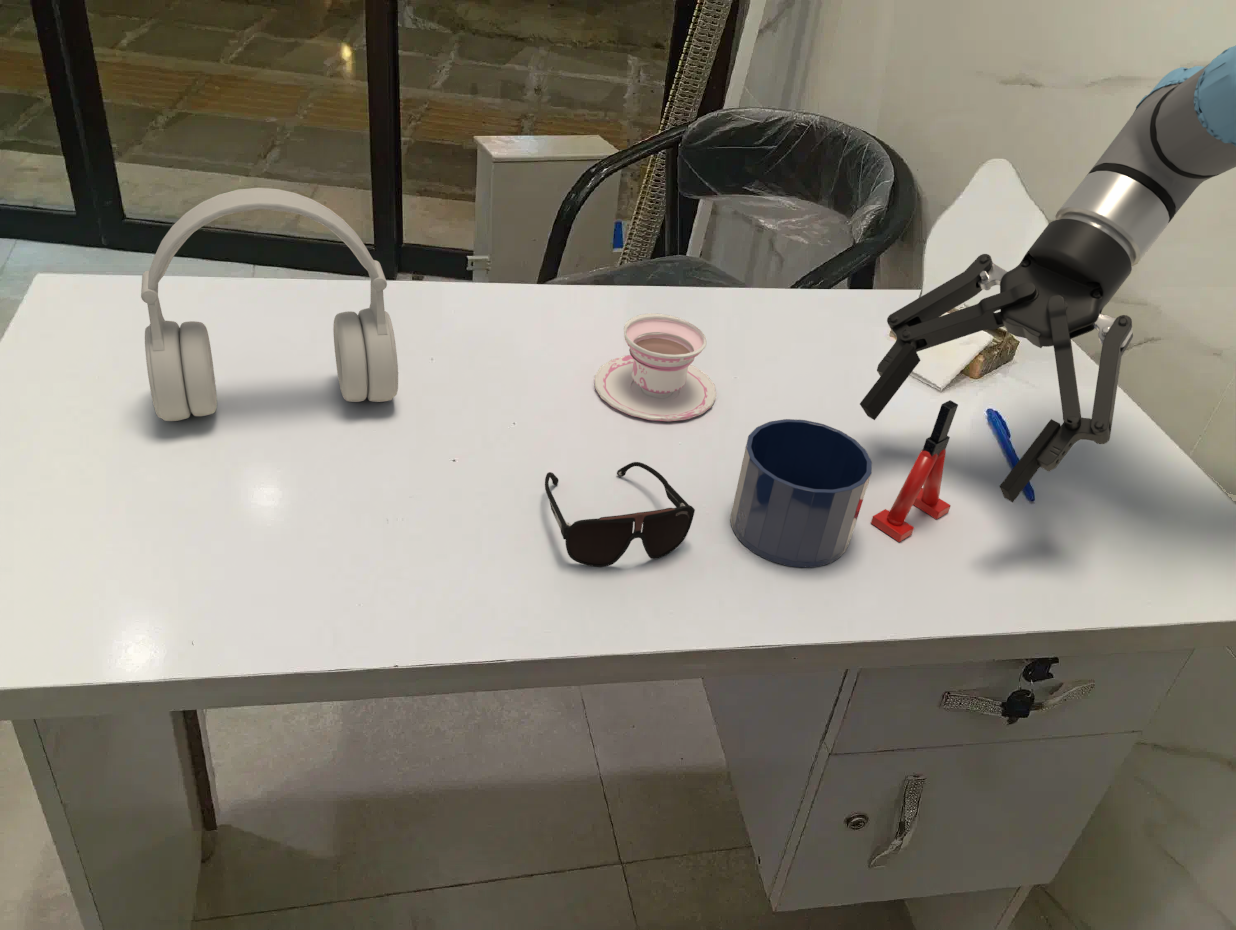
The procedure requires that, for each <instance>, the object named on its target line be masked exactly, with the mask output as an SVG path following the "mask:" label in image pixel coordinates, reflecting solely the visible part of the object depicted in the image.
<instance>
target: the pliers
mask: <svg viewBox="0 0 1236 930" xmlns="http://www.w3.org/2000/svg"><path fill="white" fill-rule="evenodd" d="M958 408H959V404H958V403H956V402H954V401H952V400H948V401H945V402H944V403H941V405H940V408H939V410H938V414H937V417H936V420H935V423H934V425H933V428H932V431H931V434H930V436H929V437H927V438H926V439H925V442H924V444H923V446H922V449H921V451H920V452H919V453H918V456H917V458H916V459H915V462H914V463H913V465H912V467H911V470H910V471H909V473H908V475H907V477H906V479H905V481H904V483H903V485H902V487H901V489H900V490H899V493H898V495H897V496H896V498H895V500H894V502H893V503H892V505H891V508H890V510H888V509H886V508H885V509H883V510H880V511H879V512H878V513H876V514H874V515H872V518H871V521H870V524H871V525H873V526H874V527H876V528H877V529H879V530H880V531H882V532H883V533H885V534H886V535H888V536H889V537H891V538H892V539H894V540H895V541H896V542H898V543H901V542H902V541H903V540H906V539H907V538H909V537H910V536H912V534H913V532H914V529H915V527H914V526H913V525H912V524H909V523H908V522H906V521H905V520H906V519H907V517H908V515H909V513H910V511H911V509H912V507H913V506H914V507H916V508H918V509H919V510H921V511H922V512H924V513H926V514H927V515H929V516H930V517H931V518H933V519H935V520H938V519H940V518H941V517H943V516H945V515H947V514H948V513H949V511H950V509H951V504H949V503H948V502H946V501H944V500H943V499H941V498H940V495H941V488H942V487H941V486H942V480H943V474H944V467H945V459H946V454H947V453H946V452H947V450H946V449H947V447H948V444H949V441H950V438H951V437H950V436H949V435H948V434H949V432H950V429H951V426H952V423H953V420H954V418H955V416H956V412H957V410H958Z"/></svg>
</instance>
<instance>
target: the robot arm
mask: <svg viewBox="0 0 1236 930" xmlns="http://www.w3.org/2000/svg"><path fill="white" fill-rule="evenodd" d="M1235 168H1236V45H1233V46H1230V47H1228V48H1227V49H1224V50H1223V51H1222V52H1221V53H1220V54H1218V55H1217V56H1216V57H1214V58H1213V59H1212V60H1211V61H1210V62H1209V63H1208V64H1207V65H1205V66H1204V65H1194V66H1192V67H1189V68H1188V67H1184V66H1181V67H1177V68H1174V69H1173V70H1171V71H1169V72H1168V73H1167V74H1165V75H1164V76H1163V77H1162V78H1161V79H1160V80H1159V81H1158V83H1157V84H1156V85H1155V86H1154V87H1153V89H1151V91H1150V92H1149V93H1148V94H1147V95H1144V97H1142V99H1141V100H1140V101H1139V102H1138V104H1137V105H1136V107H1135V109H1134V112H1132V114H1131V116H1130V117H1129V119H1128V120H1127V121H1126V123H1125V124H1124V125H1123V126H1122V128H1121V130H1120V131H1119V132H1118V134H1117V135H1116V136H1115V138H1113V140H1112V141H1111V143H1110V144H1109V145H1108V147H1107V148H1106V150H1104V152H1103V153H1102V155H1101V156H1100V157H1099V159H1098V160H1097V161H1096V163H1095V164H1094V165H1093V166H1092V168H1091V169H1090V170H1089V172H1088V173H1087V174H1086V175H1085V177H1084V178H1083V179H1082V181H1080V183H1079V184H1078V186H1077V187H1076V188H1075V189H1074V191H1073V192H1072V193H1071V194H1070V195H1069V196H1068V198H1067V199H1066V200H1065V202H1064V203H1063V204H1062V206H1061V207H1060V208H1059V209H1058V211H1056V214H1055V215H1054V216H1055V217H1054V218H1055V220H1052V221H1050V222H1049V223H1048V224H1047V226H1046V227H1045V228H1044V230H1042V232H1041V233H1040V234H1039V236H1038V237H1037V239H1035V241H1034V242H1033V244H1032V245H1031V246H1030V248H1029V249H1028V250H1027V252H1026V253H1025V255H1024V256H1023V258H1022V259H1021V261H1020V262H1019V263H1018V265H1016V266H1015V267H1014V268H1012V269H1010V270H1008V271H1007V270H1006V269H1004V268H1002V267H1000V266H999V265H997V264H995V263H994V262H993V260H992V256H991V255H990V254H988V253H982V254H980V255H978V256H977V257H976V258H975V260H973V262H972V263H971V264H970V265H969V266H968V267H967V268H966V269H965V270H964V271H963V272H961V273H959V274H957V275H956V276H954V277H952V278H951V279H949V280H947V281H946V282H944V283H942V284H941V285H939V286H937V287H935V288H933V289H931V290H930V291H928V292H926V293H925V294H923V295H922V296H919V297H918V298H916V299H914V300H913V301H911V302H910V303H908V304H906V305H904V306H903V307H901V308H899V309H898V310H896V311H894V312H892V313H890V315H888V317H887V319H886V323H887V324H888V327H889V328H890V331H891V332H892V335H893V336H894V338H896V341H894V343H893V345H892V346H891V347H890V349H889V350H888V351H887V353H886V354H885V355H884V357H883V358H882V359H881V360H880V362H879V363H878V365H877V367H876V371H877V373H878V375H879V376H880V377H878V379H877V381H875V383H874V385H873V386H872V387H871V388H870V390H869V391H868V392H867V394H866V395H865V396H864V397H863V398H862V400H861V401H860V403H859V405H860V407H861V408H862V410H863V411H864V413H865V414H866V416H867V417H868V418H870V419H871V420H873V421H876V419H878V417H879V416H880V414H881V413H882V412H883V410H884V409H885V408H886V406H887V405H888V404H889V402H890V401H891V400H892V399H893V398H894V396H895V395H896V393H897V392H898V390H899V389H900V388H901V386H902V385H903V384H904V383H905V382H906V380H907V379H908V377H909V376H910V375H911V374H912V373H913V371H914V370H915V368H916V367H917V366H918V365H919V363H920V362H921V358H920V355H919V354H918V352H921V351H923V350H927V349H930V348H933V347H936V346H939V345H942V344H946V343H949V342H951V341H954V340H958V339H960V338H964V337H966V336H969V335H973V334H976V333H979V332H982V331H985V330H989V331H992V330H993V331H994V330H997V329H1001V328H1002V327H1003V328H1005V329H1006V331H1007V333H1008V334H1011V335H1012V336H1015V337H1017V338H1023V339H1026V340H1027V341H1028V342H1030V343H1031V344H1032V345H1033V346H1035V347H1037V348H1039V349H1042V348H1043V347H1047V348H1049V347H1053V351H1054V357H1055V365H1056V373H1057V381H1058V390H1059V397H1060V404H1061V405H1060V406H1061V411H1062V421H1063V423H1060V422H1058V421H1056V420H1055V419H1052V418H1051V419H1050V420H1049V421H1048V422H1047V423H1046V425H1045V427H1044V428H1043V429H1042V430H1041V431H1040V433H1039V434H1038V435H1037V437H1035V439H1034V440H1033V442H1032V443H1031V445H1030V446H1029V447H1028V449H1026V451H1025V452H1024V454H1022V457H1020V459H1019V460H1018V461H1017V463H1016V464H1015V466H1013V468H1012V469H1011V471H1010V472H1009V473H1008V474H1007V476H1006V477H1005V478H1004V480H1003V481H1002V482H1001V484H1000V485H999V489H1000V491H1001V493H1002V495H1003V498H1004V499H1006V500H1007V501H1009V502H1011V503H1014V502H1015V501H1016V500H1017V498H1018V497H1019V495H1020V494H1021V493H1022V491H1023V490H1024V489H1025V487H1026V486H1027V485H1028V484H1029V482H1030V481H1031V480H1032V478H1033V477H1034V476H1035V474H1036V473H1037V472H1038V470H1039V469H1040V468H1041V469H1043V470H1045V471H1046V472H1048V473H1050V472H1051V471H1053V470H1055V469H1056V468H1057V467H1058V465H1059V464H1060V462H1062V460H1063V459H1064V458H1065V456H1066V455H1068V452H1070V450H1071V449H1072V448H1073V446H1074V444H1076V443H1077V442H1079V441H1083V440H1084V441H1090V442H1091V441H1092V442H1094V443H1096V445H1105V444H1107V443H1108V442H1109V441H1110V439H1111V436H1112V435H1111V433H1112V427H1113V421H1114V414H1115V413H1114V412H1115V407H1116V405H1115V404H1116V399H1117V391H1118V385H1119V377H1120V370H1121V365H1122V364H1121V362H1122V356H1123V355H1124V353H1125V352H1126V350H1127V348H1128V347H1129V345H1130V343H1131V341H1132V340H1133V337H1134V332H1133V331H1134V329H1133V320H1132V318H1131V316H1129V315H1125V314H1123V315H1119V316H1117V317H1114V316H1110V315H1107V314H1104V313H1102V311H1103V310H1104V308H1105V307H1106V306H1107V305H1108V304H1109V302H1110V301H1111V300H1112V298H1113V297H1114V296H1115V294H1117V292H1118V291H1119V289H1120V288H1121V287H1122V286H1123V284H1124V283H1125V281H1126V280H1127V279H1128V278H1129V276H1130V275H1131V273H1132V270H1133V269H1132V267H1134V266H1135V265H1138V264H1139V263H1140V262H1141V260H1142V259H1143V257H1144V256H1145V255H1146V254H1147V252H1148V251H1149V250H1150V248H1151V247H1152V246H1153V245H1154V243H1155V242H1156V241H1157V239H1158V238H1159V237H1160V235H1161V234H1162V233H1163V232H1164V231H1165V229H1166V228H1167V227H1168V226H1169V224H1170V223H1171V221H1172V220H1173V219H1174V218H1175V216H1176V215H1177V213H1178V212H1179V211H1180V209H1181V208H1182V207H1183V205H1185V203H1186V202H1187V201H1188V200H1189V198H1190V197H1191V195H1193V193H1194V192H1195V190H1196V189H1197V188H1198V187H1199V186H1200V185H1201V184H1202V183H1203V182H1206V181H1207V180H1209V179H1212V178H1214V177H1217V176H1219V175H1222V174H1224V173H1226V172H1228V171H1230V170H1233V169H1235ZM995 286H999V293H995V294H993V295H990V296H987V297H984V298H982V299H980V301H979V302H978V303H976V304H973V305H970V306H966V307H964V308H960V309H958V310H955V311H952V310H954V309H956V308H957V307H959V306H961V305H962V304H964V303H965V302H968V301H969V300H971V299H972V298H975V296H977V295H978V294H980V292H982V291H983V290H984V291H990V290H991V289H992V287H995ZM950 311H952V312H950ZM1094 330H1096V331H1098V332H1097V336H1098V342H1099V344H1100V345H1101V351H1100V358H1099V366H1098V371H1097V378H1096V384H1095V385H1096V387H1095V393H1094V399H1093V406H1092V412H1091V418H1087V417H1084V416H1083V417H1082V411H1081V404H1080V396H1079V390H1078V383H1077V375H1076V368H1075V361H1074V360H1075V359H1074V351H1073V346H1072V340H1073V339H1075V338H1077V337H1080V336H1083V335H1086V334H1088V333H1091V332H1093V331H1094Z"/></svg>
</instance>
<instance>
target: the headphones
mask: <svg viewBox="0 0 1236 930" xmlns="http://www.w3.org/2000/svg"><path fill="white" fill-rule="evenodd" d="M258 210H261V211H262V210H264V211H275V212H283V213H284V212H285V213H290V214H295V215H300V216H302V217H305V218H307V219H310V220H311V221H313V222H316V223H318V224H320V225H322V226H324V227H325V228H327V229H328V230H329V231H331V232H332V233H333V234H334V235H336V237H337V238H338V239H340V240H341V242H343V243H344V245H346V246H347V248H349V250H350V251H351V252H352V253H353V255H354V256H355V258H356V259H357V260H358V262H359V263H360V264H361V266H362V267H363V268H364V269H365V270H366V271H367V273H368V276H369V279H370V303H369V307H367V308H363V309H359V311H358V313H356V312H355V311H343V312H339V313H336V315H335V316H334V317H333V318H334V319H333V324H332V325H333V328H332V330H333V346H334V356H335V357H334V358H335V364H336V373H337V380H338V384H339V389H340V393H341V396H342V398H343V399H344V400H345V401H346V402H350V403H360V402H364V401H366V399H367V400H368V401H369V402H374V403H382V402H389V401H392V400H393V399H394V397H396V396H397V394H398V390H399V363H398V352H397V345H396V337H395V332H394V331H395V330H394V327H393V326H394V325H393V322H392V319H391V317H390V314H389V312H388V311H386V310H385V299H384V290H386V289H387V286H388V282H387V280H386V276H385V273H384V271H383V267H382V266H381V265H382V264H381V263H380V261H378V260H376V259H373V257H372V255H371V254H370V252H369V250H368V248H367V246H366V245H365V244H364V242H363V241H362V239H361V238H360V236H359V235H358V233H357V232H356V231H355V230H354V229H353V228H352V227H351V226H350V225H349V224H348V223H347V222H346V220H345V219H343V218H342V217H341V216H340V215H338V214H337V213H335V212H334V211H333V209H331V208H329V207H328V206H325V205H323V204H321V203H320V202H318V201H317V200H314V199H313V198H310V197H308V196H305V195H303V194H299V193H297V192H293V191H288V190H284V189H279V188H271V187H270V188H269V187H268V188H267V187H251V188H240V189H235V190H231V191H228V192H224V193H219V194H217V195H214V196H213V197H210V198H208V199H205V200H204V201H202V202H199V203H198V204H196V205H195V206H194V207H192V208H190V209H189V210H188V211H186V212H185V213H184V214H183V215H182V216H180V218H179V219H178V220H177V221H176V222H175V223H174V224H173V225H172V226H171V227H170V229H169V230H168V231H167V232H166V234H165V236H164V237H163V238H162V240H161V241H160V243H159V246H158V247H157V250H156V252H155V254H154V256H153V259H152V261H151V265H150V267H149V269H148V270H145V271H144V272H143V273H142V275H141V287H140V288H141V290H140V298H141V300H142V302H144V304H146V305H147V311H148V318H149V325H148V326H146V327H145V329H144V351H145V360H146V361H145V362H146V370H147V377H148V383H149V384H148V385H149V390H150V395H151V399H152V400H151V401H152V404H153V408H154V411H155V414H156V416H157V418H159V419H162V420H163V422H177V421H183V420H186V419H189V418H190V417H191V414H192V415H193V416H194V417H205V416H209V415H214V413H215V412H216V411H217V407H218V398H217V396H218V395H217V386H216V377H215V368H214V362H213V355H212V346H211V341H210V336H209V331H208V329H207V327H206V324H204V322H201V321H191V320H190V321H183V322H181V324H180V325H179V323H178V322H177V321H174V320H165V317H164V316H163V315H164V314H163V312H162V308H161V307H162V306H161V303H160V298H159V283H160V281H161V280H162V279H163V278H164V275H165V274H166V272H167V270H168V268H169V267H170V264H171V262H172V260H173V259H174V257H175V255H176V254H177V253H178V251H179V250H180V249H181V247H182V246H183V245H184V244H185V243H186V241H187V240H188V239H189V238H190V237H191V236H192V235H193V234H194V233H195V232H196V231H199V229H201V228H202V227H205V226H206V225H209V223H211V222H214V221H215V220H217V219H220V218H222V217H225V216H230V215H232V214H233V215H234V214H239V213H245V212H249V211H258Z"/></svg>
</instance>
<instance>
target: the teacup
mask: <svg viewBox="0 0 1236 930" xmlns="http://www.w3.org/2000/svg"><path fill="white" fill-rule="evenodd" d="M623 337H624V341H625V343H626V344H627V347H629V350H628V351H629V354H628V355H623V356H620V357H616V358H613V359H611V360H609V361H608V362H606V363H604V364H603V365H601V366H600V367H599V369H598V370H597V372H596V373H595V375H594V389H595V390H596V392H597V394H598V396H599V397H600V398H601V399H602V400H603V401H604V402H606V404H608V405H609V406H611V407H612V409H615V410H618V411H620V412H622V413H624V414H626V415H629V416H632V417H635V418H639V419H644V420H648V421H659V422H675V421H687V420H690V419H693V418H696V417H698V416H702V415H703V414H704V413H706V412H707V411H708V410H709V409H711V408H712V407H713V405H714V403H715V401H716V398H717V391H716V385H715V384H714V382H713V380H711V379H710V377H709V375H707V373H705V372H704V371H702V370H701V369H700V368H698V367H696V366H694V365H693V364H692V363H693V362H694V361H695V359H696V357H698V356H699V355H700V354H701V353H702V352H703V351H704V350H705V348H706V347H707V337H706V336H705V334H704V333H703V331H702V330H701V329H700V328H699V327H697V326H696V325H695V324H693V323H691V322H690V321H688V320H685V319H683V318H680V317H677V316H674V315H670V314H664V313H652V312H651V313H642V314H638V315H635V316H632V317H631V318H629V319H628V320H627V321H626V322H625V324H624V326H623Z"/></svg>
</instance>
